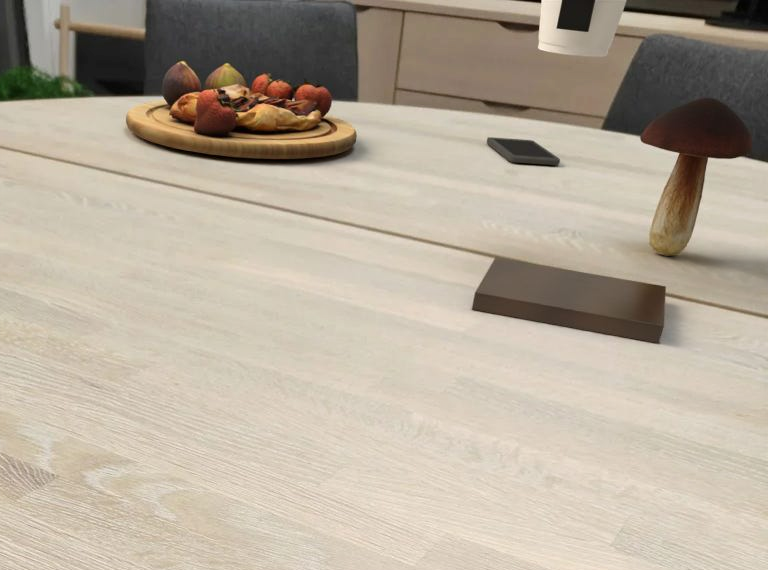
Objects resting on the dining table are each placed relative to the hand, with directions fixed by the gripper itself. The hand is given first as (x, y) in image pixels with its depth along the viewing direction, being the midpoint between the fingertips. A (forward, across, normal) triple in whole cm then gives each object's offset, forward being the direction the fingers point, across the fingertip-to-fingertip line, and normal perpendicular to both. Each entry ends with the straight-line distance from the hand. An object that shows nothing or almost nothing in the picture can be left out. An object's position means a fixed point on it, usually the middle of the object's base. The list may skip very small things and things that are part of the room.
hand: (578, 26), depth 90 cm
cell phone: (+20, -53, -9) cm, 58 cm away
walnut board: (+20, +14, +6) cm, 26 cm away
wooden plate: (+20, -35, -45) cm, 60 cm away
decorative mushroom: (+21, -10, +13) cm, 26 cm away
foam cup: (+2, 0, 0) cm, 2 cm away
